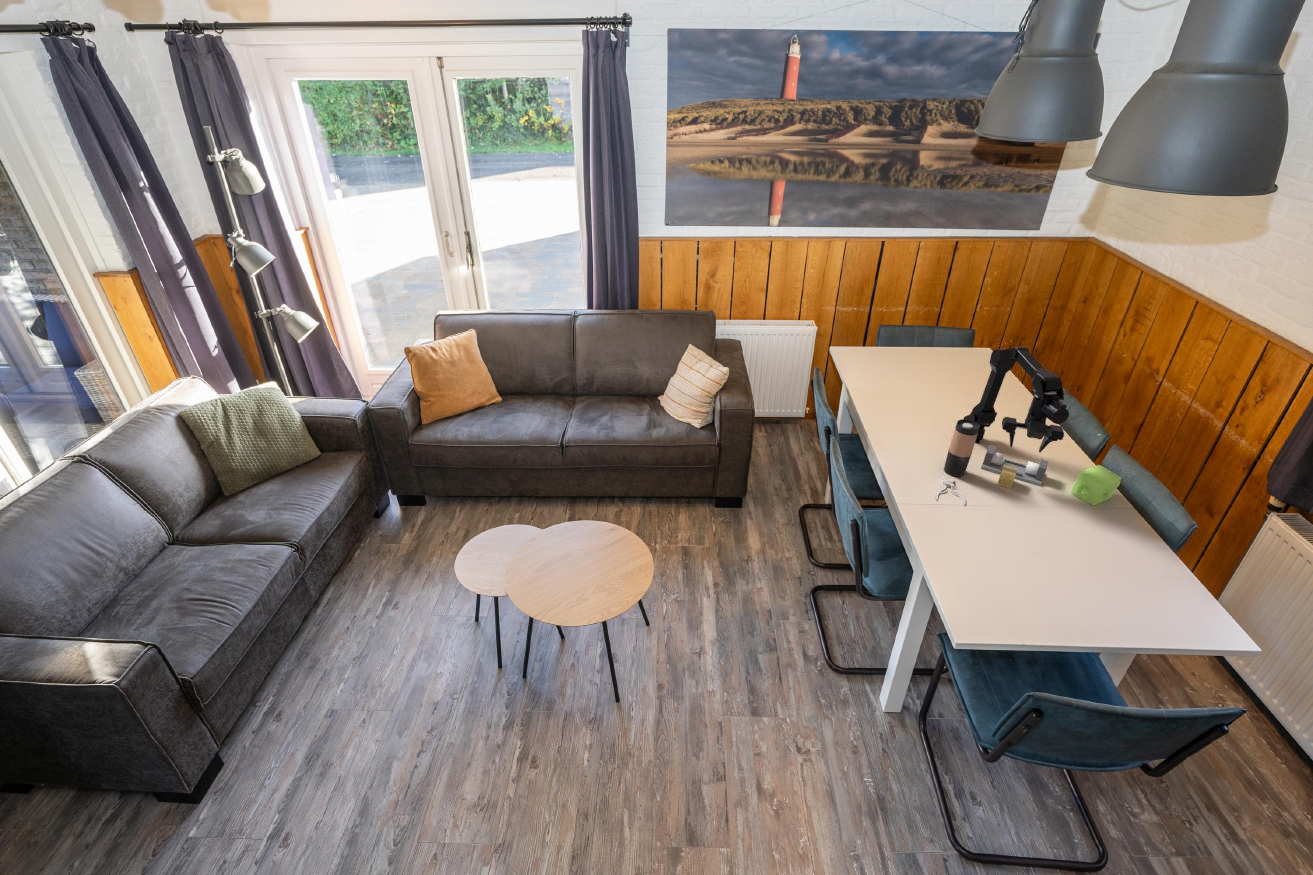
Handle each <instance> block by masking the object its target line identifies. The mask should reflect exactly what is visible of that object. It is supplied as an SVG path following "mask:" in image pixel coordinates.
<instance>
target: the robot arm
mask: <svg viewBox="0 0 1313 875" xmlns="http://www.w3.org/2000/svg"><path fill="white" fill-rule="evenodd" d="M1016 362H1017V364H1018V365H1019V366H1020V367H1021V368H1022V370H1023V371H1025V373H1026V374H1027V375H1028V376H1029V377H1030V378H1031V385H1032V387H1033V389H1032V390H1030V393H1031V394H1032V395H1033V397H1032V399H1031V403H1030V406H1029V408H1028V411H1027V415H1026V418H1024V419H1025V420H1024V422H1018V421H1017V418H1015V417H1010V416H1004V417H1003V418H1002V420H1001V427H1002V430H1004V431H1005V432H1006V433H1008V434H1009V446H1010V448H1012V447H1013V445H1014V439H1015V435H1016V430H1017V429H1020V430H1021V429H1022V430H1026V436H1027V438H1030V439H1036V440H1042V441H1041V443H1040V446H1039V449H1038V453H1041V452H1043V451H1044V449H1045V448H1046V447H1047V446H1048V445H1049V444H1050V443H1052V442H1058V441H1063V439H1064V437H1065V431H1064V428H1063V427H1062V426H1061V425H1060V424H1063V423H1065V422H1066V421H1067V420H1068V418H1069V417H1070V413H1069V410H1068V409H1067V404H1066V403H1064V402H1062V401H1064V399H1065V398H1064V397H1065V392H1064V386H1063V382H1062V378H1061V376H1059V375H1058V374H1056V373H1055V372H1053V371H1051V370H1048V369H1046V368H1045V367H1044V366H1043V365H1042V364H1041V363H1040V362H1039V361H1038V360H1037V359H1036V357H1034V355H1033V354H1032V353H1031V352H1030V351H1029V348H1028V347H1025V346H1014V347H1011V348H1003V349H1002V348H997V349H996V348H995V349H994V350H992V352H991V354H990V358H989V365H990V369H991V370H990V373H989V376H988V378H987V382H986V384H985V387H984V389H983V393H982V396H981V398H980V401H979V402H978V403H977V404H976V405H975V406H974V407H973V408H972V410H971V412H970V414H968V415H965V416H963V419H966V420H971V421H974V422H976V423H977V424H979V426H980V427H979V431H978V434H977V438H976V441H975V443H976V444H980V443H981V441H983V439H984V436H985V433H986V428H990V427H991V425H992V424H994V422H996V417H997V415H998V412H997V411H996V410H995V403H996V400H997V398H998V395H999V394H1000V393H999V392H1000V390H1001V389H1002V388H1001V387H1002V385H1003V382H1004V380H1005V377H1006V374H1007V373H1009V371H1011V370H1012V369H1013V368H1014V366H1015V365H1016ZM1052 393H1053V394H1052ZM1055 393H1056V394H1055ZM1047 419H1048V420H1049V421H1050V422H1052V423H1053V424H1049V425H1048V424H1047V422H1046V421H1047Z"/></svg>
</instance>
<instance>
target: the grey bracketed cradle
mask: <svg viewBox="0 0 1313 875" xmlns="http://www.w3.org/2000/svg"><path fill="white" fill-rule="evenodd" d="M996 449H997V446H995V445H992V444H989V445H988V448H987V449H986V453H985V454H984V458H983V462H982V465H981V467H980V469H982V470H984V471H988V472H991V473H995V474H998V475H1000V474H1001V471H1002V469H1003V466H1004V464H1005V465H1008V466H1012V467H1015V468H1018V469H1017V473H1016V476H1015V478H1014V480H1018V481H1023V482H1025V483H1029V484H1032V485H1036V486H1039V487H1041V486H1042V483H1043V479H1044V477H1045V475H1046V472H1047V470H1048V467H1049V466H1048V465H1049V460H1045V459H1040V461H1039V463H1036V462H1032V461H1028V462H1027V464H1025V463H1022V462H1021V463H1020V462H1017V461H1014V460H1010V459H1005V456H1006V454H1003V453H1000V452H997V451H996Z"/></svg>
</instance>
